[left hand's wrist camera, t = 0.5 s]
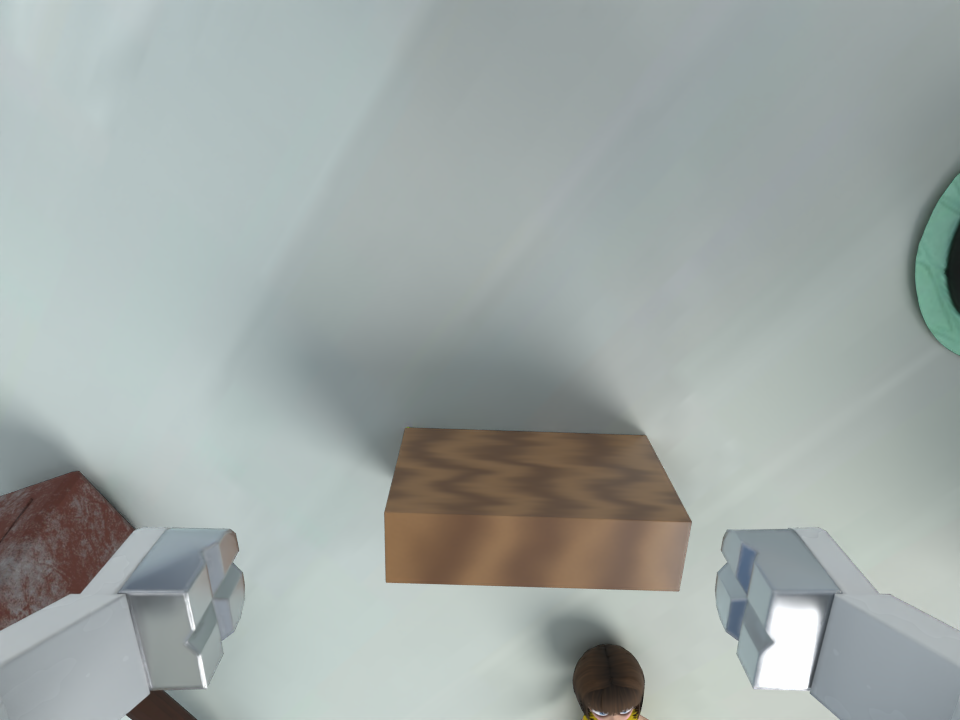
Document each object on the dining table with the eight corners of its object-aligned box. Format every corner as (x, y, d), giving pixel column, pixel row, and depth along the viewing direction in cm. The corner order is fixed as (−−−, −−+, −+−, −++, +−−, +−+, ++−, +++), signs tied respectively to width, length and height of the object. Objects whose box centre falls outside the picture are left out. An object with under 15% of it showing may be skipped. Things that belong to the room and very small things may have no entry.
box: (405, 486, 58) (385, 582, 46) (405, 427, 56) (384, 512, 43) (637, 493, 58) (679, 591, 46) (646, 435, 56) (692, 521, 44)
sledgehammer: (269, 873, 61) (-52, 644, 40) (180, 894, 62) (-177, 683, 41) (300, 696, 75) (77, 460, 54) (227, 716, 76) (-18, 493, 55)
